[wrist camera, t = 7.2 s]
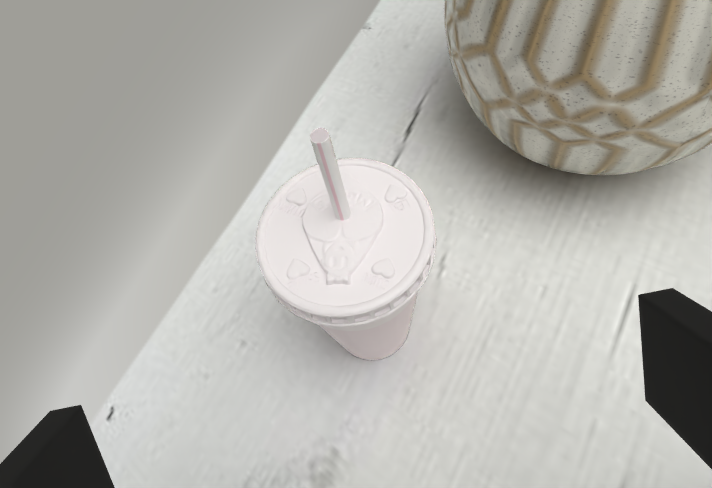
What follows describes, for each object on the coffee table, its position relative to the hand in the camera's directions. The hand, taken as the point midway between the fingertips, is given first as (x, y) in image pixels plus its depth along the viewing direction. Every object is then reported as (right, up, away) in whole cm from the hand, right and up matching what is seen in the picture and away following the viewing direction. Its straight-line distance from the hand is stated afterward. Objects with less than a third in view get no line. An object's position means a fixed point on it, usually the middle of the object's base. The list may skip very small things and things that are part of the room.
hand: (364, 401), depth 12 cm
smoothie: (+1, -1, +15) cm, 15 cm away
